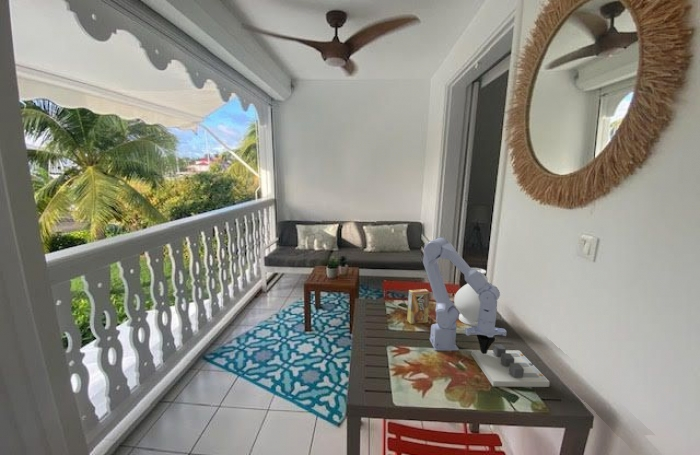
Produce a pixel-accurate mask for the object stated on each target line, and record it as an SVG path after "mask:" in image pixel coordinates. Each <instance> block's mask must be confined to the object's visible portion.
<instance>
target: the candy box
mask: <svg viewBox="0 0 700 455" xmlns="http://www.w3.org/2000/svg"><path fill="white" fill-rule="evenodd" d="M430 293H431V292H430V291H429V290H428V289H426V288H424V289H423V288H422V289H421V288H420V289H409V290H408V297H407V298H408V300H407V301H408V302H407V316H406V317H407V322H409V324H412V325H414V324H423V323H428V319H429V310H430V308H429V307H430V295H431V294H430Z"/></svg>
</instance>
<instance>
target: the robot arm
mask: <svg viewBox="0 0 700 455" xmlns="http://www.w3.org/2000/svg"><path fill="white" fill-rule="evenodd" d="M440 259H442V260H443V259H445V260H449V261H450V263H452V264H453V265H454V267H456V269H458V270H459V271H460V272H461V273H462V274H463V275H464V276H463V277H464V281H465V282H466V284H467V283H468V284H469V285H470V286H471V287H472V289H473V290H474V291H475V292H476V293H477V294H478V295H479V296H478V297H479V300H480V307H479V317H478V326H471V327H465V328H464V334H465V335H466V336H471V335H472V336H474V335H475V336H476V337H477V341H478V343H479V350H480V351H481V352H482V353H483V354H486V353H487V351H488V350H490V349H489V348H490V347H491V345H492V344H493V343H494V342H495V341H496V337H495V336H503V337H507V334H508V333H507V330H506V329H505V328H500V327H496V321H497V313H498V308H497V307H498V299H500V296H501V293H500V290H499V289H498V287H497V286H495V285H494V284H492V283H490V282H488V281H487V280H486V279H485V278H484V277H483V276H482V275H483V274H482V273H481V272H478V271H477V270H473V269H471V268H472V267H470V266H469V264H468V262H466V261H465V259H464V258H463V257H462V256H461V255H460V254H459V252H458V251H457V250H456V249H455V248H454V245H453V244H452V243H451V242H449V240H448V239H447V238H445V237H442V236H439V237H437V238H436V239H433V240H429V241H428V242H427V243H426V244H425V245H424V247H423V258H422V263H423V266H424V270H425V272H426V275H427V279H428V281H429V285H430V289H431V291H432V294H433V297H434V300H435V303H436V304H435V310H434V311H435V321H436V322H435V323H432V324H431V326H430V335H429V341H430V344H431V345H432V347H433V349H434V350H435V351H453V352H455V351H456V352H457V351H459V347H458V346H457V345H456V337H457V327H458V326H457V320H459V314H460V312H459V310H458V309H457V307H456V306H455V303H454V301H452V300H451V299H450V296H449V293H448V290H447V287H446V285H445V282H444V279H443V276H442V273H441V270H440V267H439V263H438V261H439V260H440Z"/></svg>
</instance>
